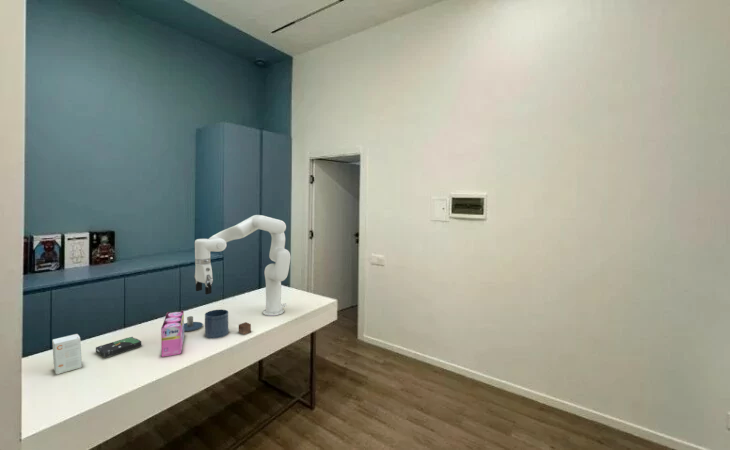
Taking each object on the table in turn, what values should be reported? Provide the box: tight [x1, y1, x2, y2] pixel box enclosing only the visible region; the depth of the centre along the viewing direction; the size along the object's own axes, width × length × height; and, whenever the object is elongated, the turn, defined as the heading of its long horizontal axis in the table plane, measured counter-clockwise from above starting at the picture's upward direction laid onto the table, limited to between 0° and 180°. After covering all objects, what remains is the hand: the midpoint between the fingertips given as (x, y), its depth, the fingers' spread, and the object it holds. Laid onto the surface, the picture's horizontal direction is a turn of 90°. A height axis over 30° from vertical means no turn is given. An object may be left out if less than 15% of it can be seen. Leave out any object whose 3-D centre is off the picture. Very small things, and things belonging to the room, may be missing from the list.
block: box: [238, 321, 252, 336], centre depth 173 cm, size 4×4×4 cm
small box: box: [51, 333, 83, 375], centre depth 133 cm, size 8×6×13 cm
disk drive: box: [95, 336, 142, 359], centre depth 151 cm, size 10×3×15 cm
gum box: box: [160, 310, 185, 358], centre depth 156 cm, size 24×8×14 cm, turn 26°
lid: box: [184, 315, 204, 332], centre depth 177 cm, size 12×12×6 cm
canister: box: [204, 308, 229, 339], centre depth 170 cm, size 11×11×12 cm
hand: (203, 292), depth 175 cm, fingers open, 9 cm apart
